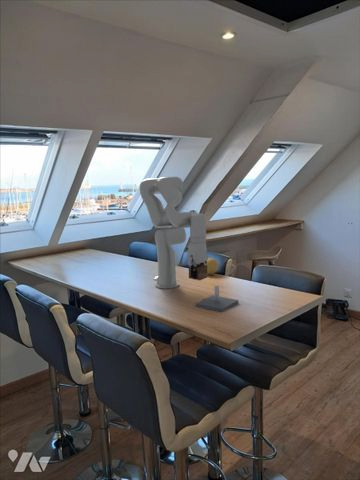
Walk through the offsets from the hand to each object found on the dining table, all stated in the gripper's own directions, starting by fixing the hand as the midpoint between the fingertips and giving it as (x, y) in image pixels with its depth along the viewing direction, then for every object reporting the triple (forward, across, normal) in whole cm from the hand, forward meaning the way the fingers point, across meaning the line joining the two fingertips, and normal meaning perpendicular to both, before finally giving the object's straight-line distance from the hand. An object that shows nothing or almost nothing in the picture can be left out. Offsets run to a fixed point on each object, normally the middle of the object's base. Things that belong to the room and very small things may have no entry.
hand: (197, 276), depth 178 cm
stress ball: (+12, -41, -20) cm, 47 cm away
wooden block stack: (+1, 0, 0) cm, 1 cm away
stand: (+10, +5, +14) cm, 18 cm away
